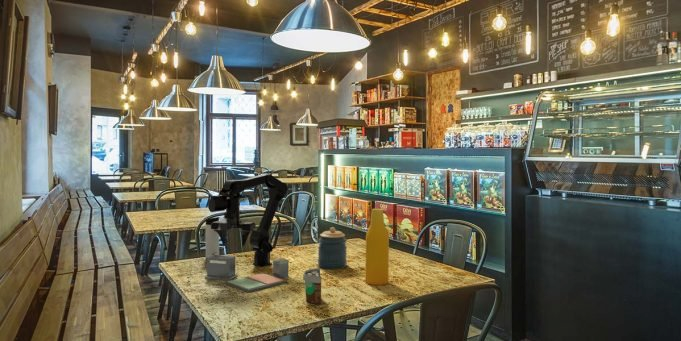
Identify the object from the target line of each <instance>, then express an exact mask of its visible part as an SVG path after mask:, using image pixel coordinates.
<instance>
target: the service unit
mask: <svg viewBox="0 0 681 341" xmlns="http://www.w3.org/2000/svg"><path fill="white" fill-rule="evenodd" d="M238 275H239V274H238V273H236V256H235V255H226V254H225V255H221V254H219V255H211V256H209V257H207V259H206V275H205V276H204V279H205V280H206V279H207V280H216V281H217V280H218V281H231V280H234V279H236V278H237V277H239V276H238Z"/></svg>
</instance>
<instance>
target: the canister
mask: <svg viewBox="0 0 681 341" xmlns="http://www.w3.org/2000/svg"><path fill="white" fill-rule="evenodd" d="M319 236H320V237H319V238H318V240H317V241H318V244H319V245H318V246H317V249H318V253H317V254H318V257H317V258H318V260H317V265H318V268H320V269H321V268H322V269H327V270H338V269H343V268H346V266H347V248H348V247H347V244H346V243H347V241H348V239H347V238H345V237H346V234H345V233H344V232H342V231H339V230H336V228H335V227H334V226H332V227H330V228H329V230H325V231H323V232H322V233H320V234H319Z"/></svg>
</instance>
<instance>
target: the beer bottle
mask: <svg viewBox="0 0 681 341" xmlns="http://www.w3.org/2000/svg"><path fill="white" fill-rule="evenodd" d="M389 244H390V237H389V232H388V230H387V228H386V225H385V216H384V209H383V208H372V210H371V217H370V223H369V227H368V229H367V231H366V234H365V267H364V268H365V271H364V273H365V274H364V275H365V276H364V279H365V282H366V284H368V285H370V286H371V285H372V286H384V285H387V284H388V283H389V278H390V277H389V267H390V266H389V258H390V257H389V256H390V255H389V253H390V252H389V251H390V249H389V248H390V245H389Z"/></svg>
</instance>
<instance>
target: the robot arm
mask: <svg viewBox="0 0 681 341" xmlns="http://www.w3.org/2000/svg"><path fill="white" fill-rule="evenodd" d="M261 185H265V186H266V188H267V189H268V201H267V204H266V206H265V209H264V211H263V214H262V218H261V219H260V222H259V224H258V227H257V226H256V222H253V221H245V222H244V223H242V220H241V217H240V216H241V215H240V214H242V211H241V210H240V199H244V198H245V196H243V194H241V193H242V192H244V191H245V190H247V189H249V188H253V187H256V186H261ZM288 190H289V187H288V184H287V183H286V182H283V181H282V180H280V179H278V178H276V177H274V176H273V175H272V174H271V173H262V174H260V175H256V176H251V177H247V178H244V179H228V180H225V181H224V183H223V185H222V187H221V190H220V192H218V195H210V199H208V201H207V202H208V203H207V208H208V210H209V211H210V213H216V212H217V213H218V212H224V211H225V212H224V213H223V214H224V215H223V217H222V218H221V219H219V221H215V222H212V224H211V229H215V230H214V231H216V232H217V233H218V234H219V240H220V241H221V243H222V246H226V241H227V240H226V238H227V237H226V235H227V234H226V233H227V230H231V229H232V228H233V229H241V231H240V233H241V244H242V245H241V246H242V247H245V245H246V242H247V240H248V239H249V242H248V243H249V244H250V246H251V248H252V251H254V255H253V262H252V265H255V266H258V267H265V266H270V265H273V262H271V252H273V250H274V246H273V245H272V244H271V243H270V232H269V231H270V228H271V226H272V223H273V220H274V218H275V215H276V212H277V209H278V206H279V204H280V202H281V201H282V200H283V199H284V198H285V197H286V194H287V192H288ZM256 227H257V228H256ZM249 235H250V236H249ZM248 237H249V238H248Z"/></svg>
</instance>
